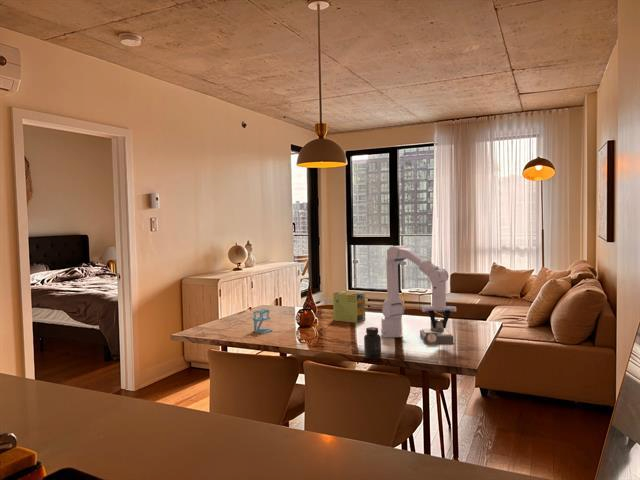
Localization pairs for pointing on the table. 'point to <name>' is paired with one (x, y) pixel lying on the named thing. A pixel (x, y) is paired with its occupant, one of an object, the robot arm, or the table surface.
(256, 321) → the teal open frame stand
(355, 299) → the protein box
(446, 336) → the scale
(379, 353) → the supplement bottle
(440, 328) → the cylinder
